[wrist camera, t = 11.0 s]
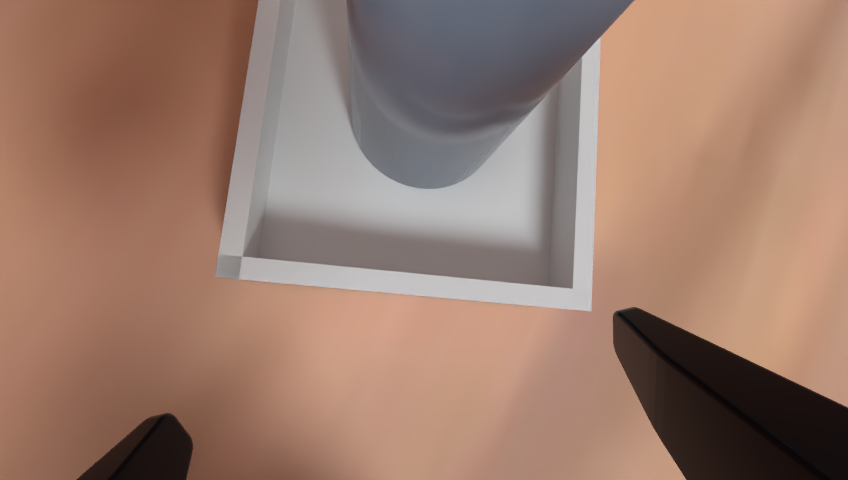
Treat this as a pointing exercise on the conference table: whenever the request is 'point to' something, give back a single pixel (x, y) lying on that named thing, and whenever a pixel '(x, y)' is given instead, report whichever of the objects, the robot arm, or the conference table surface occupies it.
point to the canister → (457, 76)
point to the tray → (401, 185)
